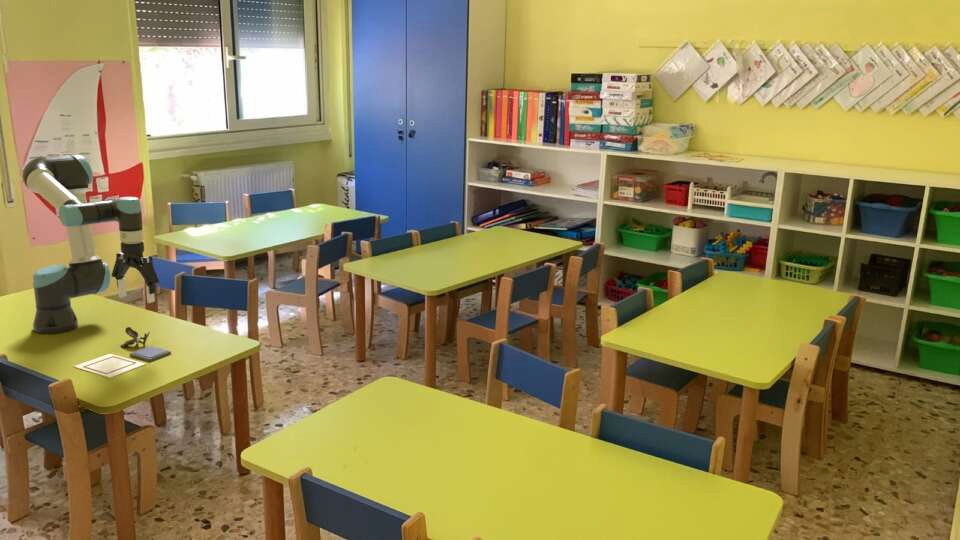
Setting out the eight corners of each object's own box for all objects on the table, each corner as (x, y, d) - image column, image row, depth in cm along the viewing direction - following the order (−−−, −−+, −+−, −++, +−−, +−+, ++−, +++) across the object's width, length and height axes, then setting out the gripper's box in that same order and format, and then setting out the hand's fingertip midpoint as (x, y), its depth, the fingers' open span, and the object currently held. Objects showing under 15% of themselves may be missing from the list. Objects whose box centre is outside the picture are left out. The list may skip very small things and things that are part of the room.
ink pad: (129, 356, 275) (129, 352, 275) (151, 348, 283) (150, 345, 282) (149, 361, 271) (149, 358, 270) (170, 353, 278) (170, 350, 278)
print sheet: (73, 367, 264) (73, 365, 264) (110, 354, 276) (110, 353, 276) (110, 378, 256) (109, 376, 256) (145, 364, 268) (145, 363, 268)
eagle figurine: (151, 338, 290) (126, 333, 289) (149, 326, 285) (123, 321, 284) (143, 354, 285) (118, 350, 284) (141, 343, 280) (115, 338, 279)
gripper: (97, 239, 278) (102, 296, 283) (150, 247, 268) (154, 307, 274) (114, 235, 285) (119, 291, 290) (167, 243, 275) (171, 301, 280)
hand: (136, 299), depth 282 cm, fingers open, 13 cm apart
